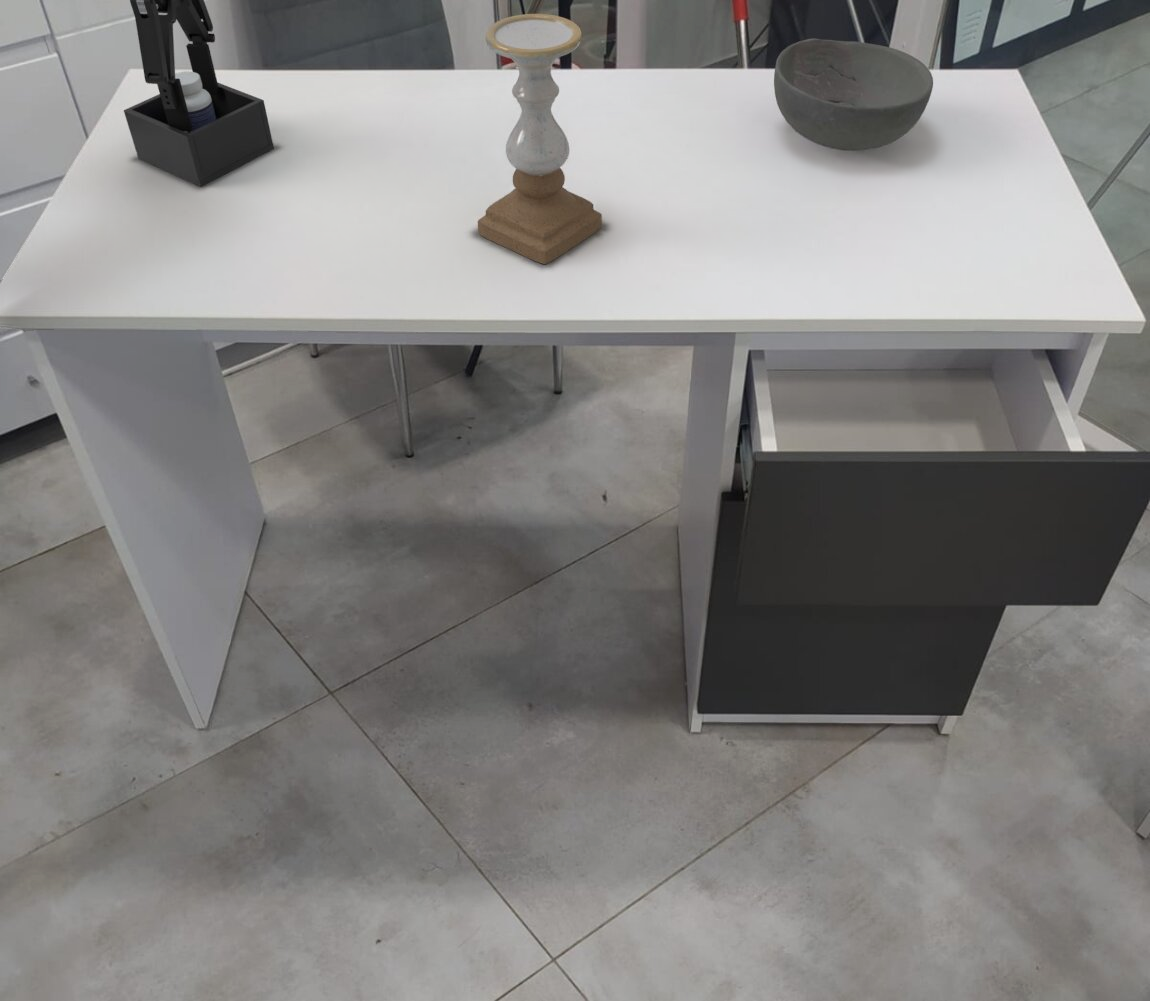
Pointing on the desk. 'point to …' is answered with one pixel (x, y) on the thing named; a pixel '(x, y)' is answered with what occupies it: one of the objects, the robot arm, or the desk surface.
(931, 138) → the desk surface
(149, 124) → the basket
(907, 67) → the bowl
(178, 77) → the pill bottle
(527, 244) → the candle holder
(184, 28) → the robot arm
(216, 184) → the desk surface
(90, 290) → the desk surface
